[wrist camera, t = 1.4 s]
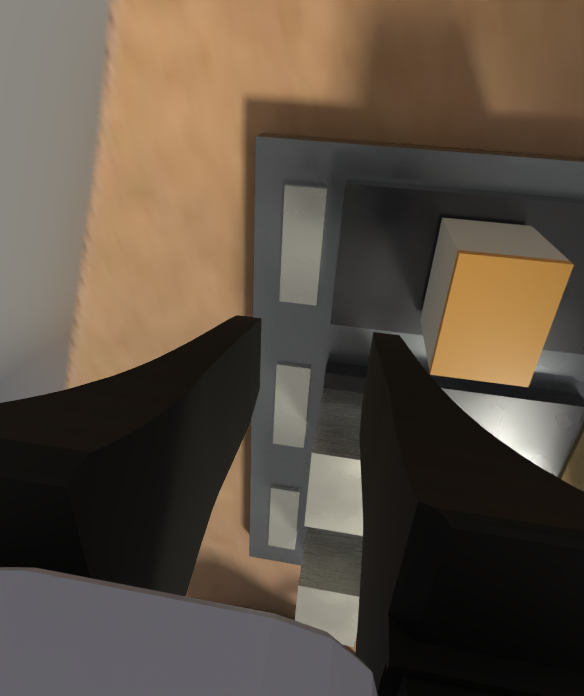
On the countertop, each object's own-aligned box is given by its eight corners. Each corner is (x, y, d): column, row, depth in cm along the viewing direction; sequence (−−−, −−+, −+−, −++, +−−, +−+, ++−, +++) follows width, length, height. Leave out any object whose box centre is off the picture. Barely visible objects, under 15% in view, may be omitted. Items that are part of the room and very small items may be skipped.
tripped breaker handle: (531, 226, 16) (574, 264, 13) (499, 329, 18) (528, 387, 15) (442, 217, 16) (459, 253, 13) (420, 320, 18) (430, 374, 15)
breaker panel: (768, 172, 16) (972, 218, 11) (544, 590, 28) (586, 716, 23) (262, 133, 18) (211, 155, 13) (253, 539, 30) (225, 643, 25)
